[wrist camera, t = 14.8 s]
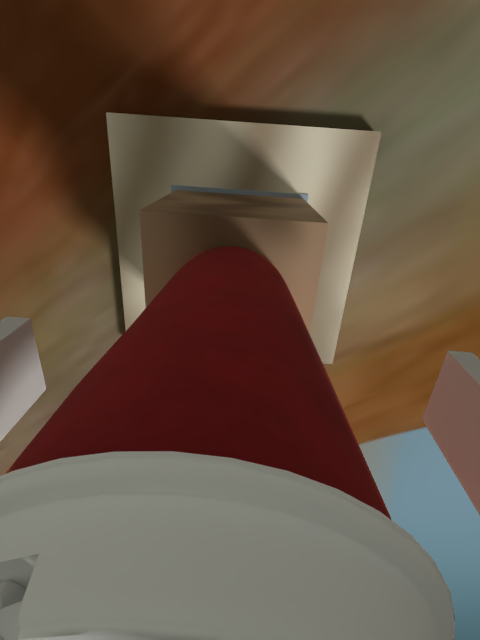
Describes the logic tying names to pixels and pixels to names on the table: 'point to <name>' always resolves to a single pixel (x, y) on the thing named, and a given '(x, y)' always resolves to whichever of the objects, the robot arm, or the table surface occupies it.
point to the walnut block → (234, 237)
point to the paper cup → (209, 488)
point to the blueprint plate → (244, 189)
